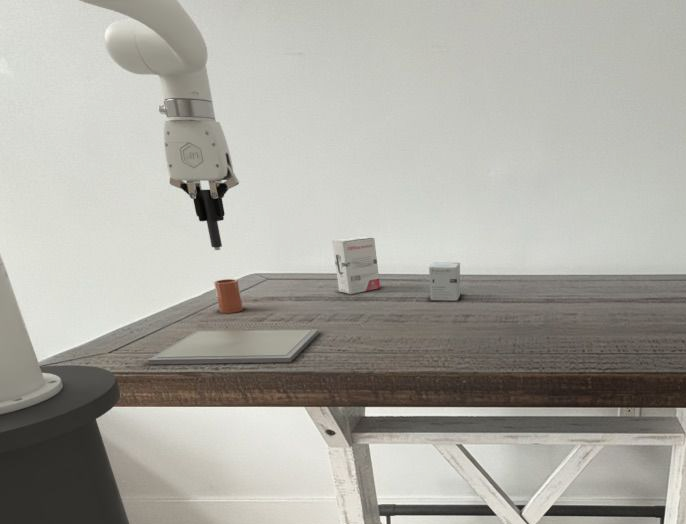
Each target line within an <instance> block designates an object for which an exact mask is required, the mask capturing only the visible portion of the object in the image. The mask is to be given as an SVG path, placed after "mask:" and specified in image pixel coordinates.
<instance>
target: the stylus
mask: <svg viewBox="0 0 686 524" xmlns="http://www.w3.org/2000/svg"><path fill="white" fill-rule="evenodd" d="M201 195H202V200H203V205H204V210H205V215H206V220H207V221H206V225H207V230H208V235H209V240H210V241H209V242H210V247H211V248H213V249H214V251H221V248H222V247H223V244H222V239H221V233H220V228H219V223H218V222H219V221H213V219H212V214H211V209H210V203H209V200H210V199H211V192H210V189H202V190H201Z"/></svg>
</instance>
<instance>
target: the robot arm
mask: <svg viewBox="0 0 686 524" xmlns="http://www.w3.org/2000/svg"><path fill="white" fill-rule="evenodd" d="M79 1H80V2H83V3H85V4H88V5H92V6H96V7H99V8H102V9H106V10H110V11H113V12H116V13H119V14H121V15H124V16H126V17H129V18H131V19H128V18H127V19H119V20H116V21H113V22H112V23H110V24H109V25H108V26H107V27H106V29H105V31H104V35H103V40H104V41H103V42H104V46H105V49H106V51H107V53H108V55H109V56H110V58H111V59H112V60H113V62H114V63H115V64H117V65H118V66H119V68H122V69H123V70H125V71H127V72H129V73H132V74H135V75H145V76H147V75H151V76H152V75H153V76H158V77H159V80H160V81H159V82H160V87H161V90H162V95H163V99H164V100H163V105H159V106H158V112H159V114H161V115H165V116H166V118H167V120H163V128H162V129H163V130H162V131H163V132H162V133H163V148H164V155H165V162H166V169H167V173H168V176H169V184H170V186H173V187H175V188H177V189H181V190H183V191H184V192H185V194H187V195H188V196H189V198H190V199H192V200H193V204H194V205H193V206H194V211H195V215H196V217H198V221H199V222H207V220H206V215H205V210H204V205H203V200H202V195H201V190H203V188H202V183H201V182H202V181H203V182H204V181H205V182H208V187H209V190H210V192H211V199H210V200H209V203H210V209H211V214H212V219H213V221H217V222H221V221H224V219H225V218H224V217H225V208H224V203H223V198H224V197H225V195H226V193H227V192H228V191H229V190H230V189H232V188H234V187H236V186H238V185H239V184H240V181H239V180H238V178H237V175H236V174H235V173H234V167H233V162H232V156H231V153H230V149H229V145H228V142H227V138H226V136H225V132H224V131H223V128H222V125H221V123H220V121H217V119H216V114H215V108H214V103H213V98H212V92H211V91H212V90H211V86H210V81H209V75H208V70H207V62H208V54H209V53H208V47H207V44H206V41H205V39H204V37H203V35H202V32H201V31H200V29H199V27H198V25H197V24H196V23H195V21H194V20H193V19H192V17H191V16H190V14H189V13H188V12H187V11H186V10H185V8H184V7H183V6H182V4H181V3H180V1H178V0H79ZM185 181H186V182H185ZM223 181H224V182H223ZM19 306H20V305H19V303H18V300H17V296H16V295H15V291H14V288H13V286H12V283H11V280H10V277H9V274H8V271H7V268H6V266H5V262H4V260H3V258H2V255H1V254H0V415H3V414H7V413H11V412H15V411H18V410H21V409H25V408H28V407H31V406H33V405H36V404H39V403H41V402H43V401H46V400H48V399H50V398H51V397H53V396H55V395H56V394H58V393H59V392H60V391H61V389H62V388H63V384H62V381H61V379H60V377H58V376H56V375H53V374H49V373H42V371H41V369H40V367H41V366H40V363H39V360H38V357H37V355H36V351H35V349H34V345H33V343H32V340H31V338H30V335H29V332H28V329H27V326H26V323H25V320H24V318H23V314H22V311H21V309H20V307H19Z"/></svg>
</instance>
